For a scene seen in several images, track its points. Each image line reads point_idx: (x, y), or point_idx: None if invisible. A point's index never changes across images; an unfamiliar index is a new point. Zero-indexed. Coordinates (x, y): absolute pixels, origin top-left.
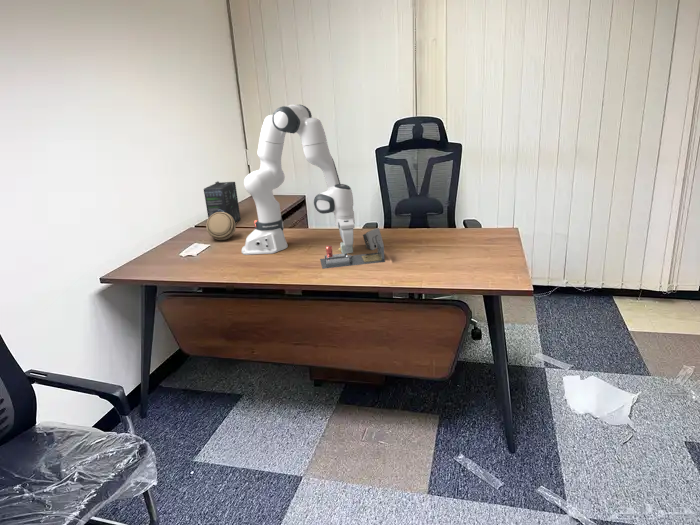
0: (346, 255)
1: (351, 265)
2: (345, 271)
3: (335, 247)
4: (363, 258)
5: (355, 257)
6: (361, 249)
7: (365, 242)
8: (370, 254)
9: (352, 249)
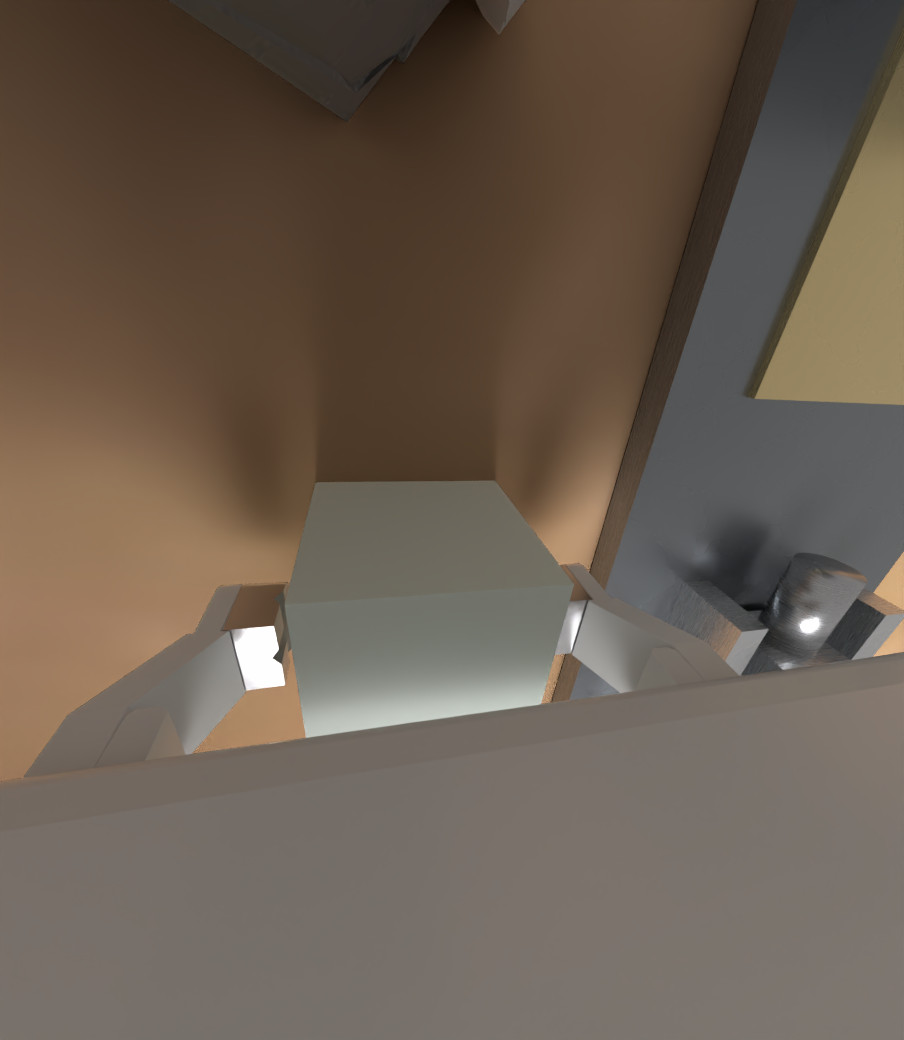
0: (823, 641)
1: (897, 558)
2: (887, 596)
3: (30, 691)
4: (866, 391)
5: (727, 489)
6: (220, 256)
7: (284, 33)
8: (791, 186)
9: (526, 528)
